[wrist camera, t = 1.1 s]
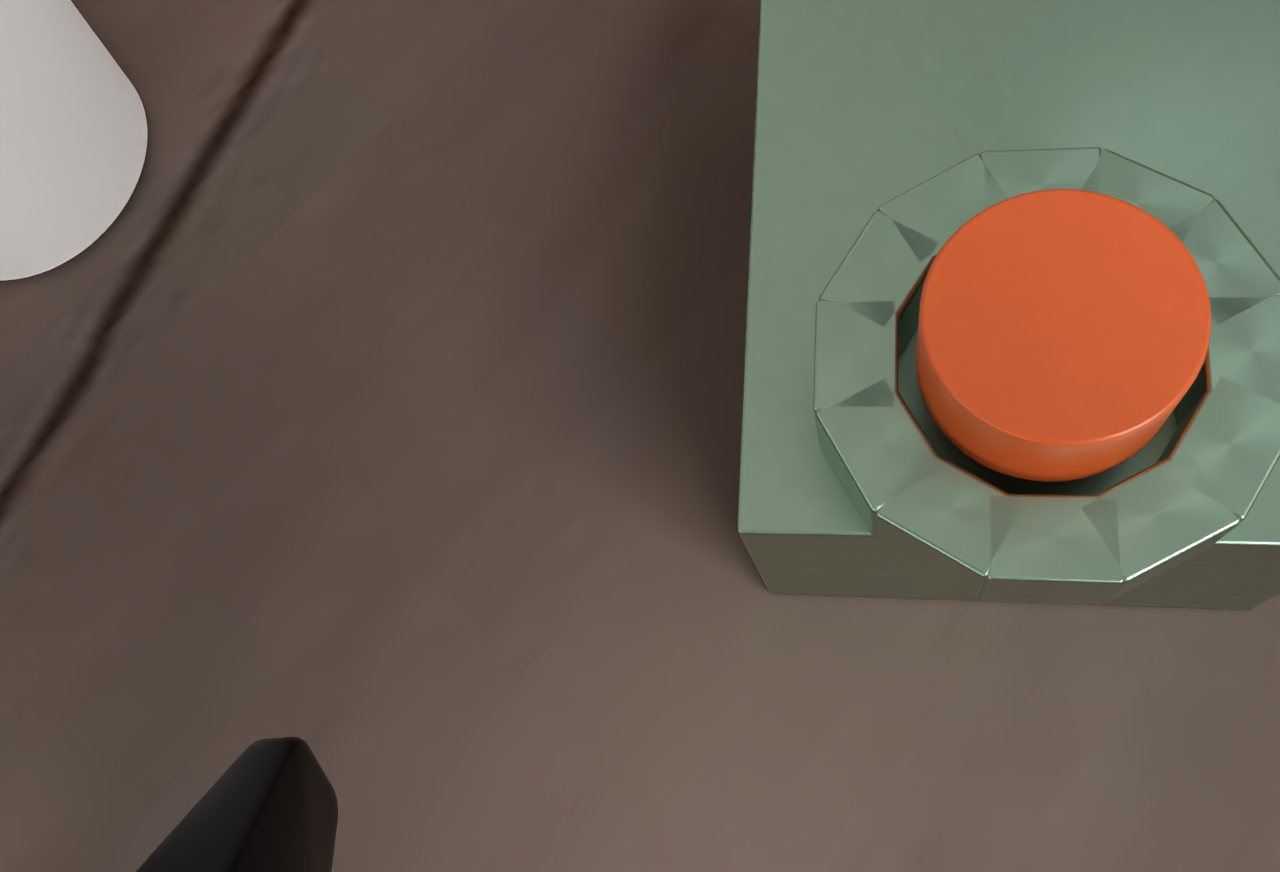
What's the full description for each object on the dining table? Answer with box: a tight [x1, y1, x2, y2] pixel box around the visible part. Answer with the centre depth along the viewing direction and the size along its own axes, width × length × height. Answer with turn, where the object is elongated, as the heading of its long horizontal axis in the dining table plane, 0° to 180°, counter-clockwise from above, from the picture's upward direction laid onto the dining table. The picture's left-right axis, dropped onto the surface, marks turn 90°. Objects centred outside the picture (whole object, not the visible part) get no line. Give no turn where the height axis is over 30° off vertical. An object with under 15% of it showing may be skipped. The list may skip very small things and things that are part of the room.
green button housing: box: [737, 0, 1280, 610], centre depth 21 cm, size 12×9×8 cm
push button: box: [916, 189, 1211, 482], centre depth 16 cm, size 4×4×2 cm
